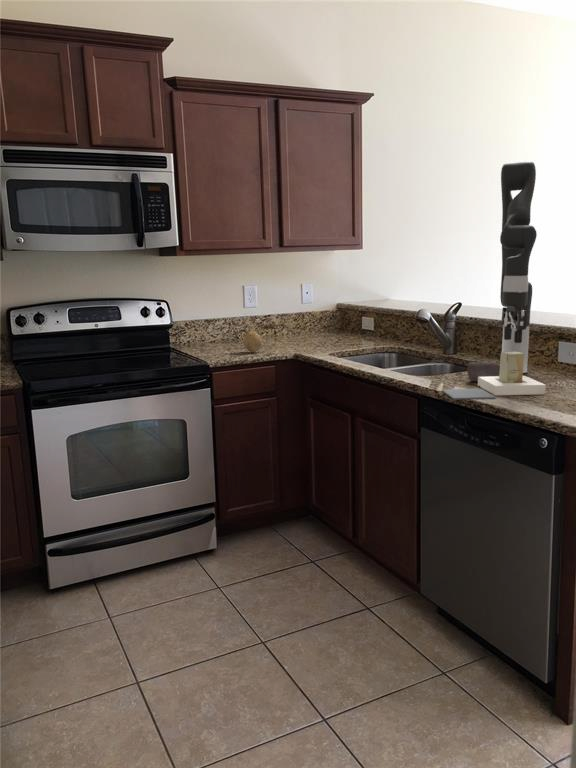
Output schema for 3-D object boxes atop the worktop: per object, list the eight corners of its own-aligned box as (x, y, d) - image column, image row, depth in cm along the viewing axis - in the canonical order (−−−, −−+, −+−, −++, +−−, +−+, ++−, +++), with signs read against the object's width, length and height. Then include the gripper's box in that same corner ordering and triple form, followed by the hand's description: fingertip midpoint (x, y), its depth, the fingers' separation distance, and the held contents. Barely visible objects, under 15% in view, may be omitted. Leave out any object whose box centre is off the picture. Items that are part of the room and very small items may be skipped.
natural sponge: (238, 352, 302) (238, 331, 301) (253, 350, 308) (253, 329, 306) (250, 354, 296) (250, 332, 294) (265, 352, 301) (265, 331, 300)
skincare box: (507, 391, 209) (509, 354, 206) (497, 389, 213) (499, 352, 210) (522, 390, 211) (524, 352, 209) (513, 387, 215) (515, 351, 213)
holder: (477, 385, 219) (478, 376, 219) (524, 384, 220) (524, 375, 220) (494, 395, 204) (495, 385, 203) (545, 394, 205) (545, 384, 204)
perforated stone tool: (496, 378, 233) (497, 358, 231) (506, 380, 228) (507, 361, 226) (461, 381, 227) (462, 361, 226) (470, 384, 223) (471, 364, 221)
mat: (441, 391, 211) (441, 389, 211) (480, 390, 212) (481, 388, 212) (453, 399, 199) (453, 398, 199) (495, 398, 199) (495, 396, 199)
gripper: (495, 289, 213) (493, 338, 216) (512, 291, 199) (509, 344, 202) (518, 289, 213) (515, 338, 216) (536, 291, 199) (533, 343, 202)
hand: (512, 341), depth 209 cm, fingers open, 8 cm apart
